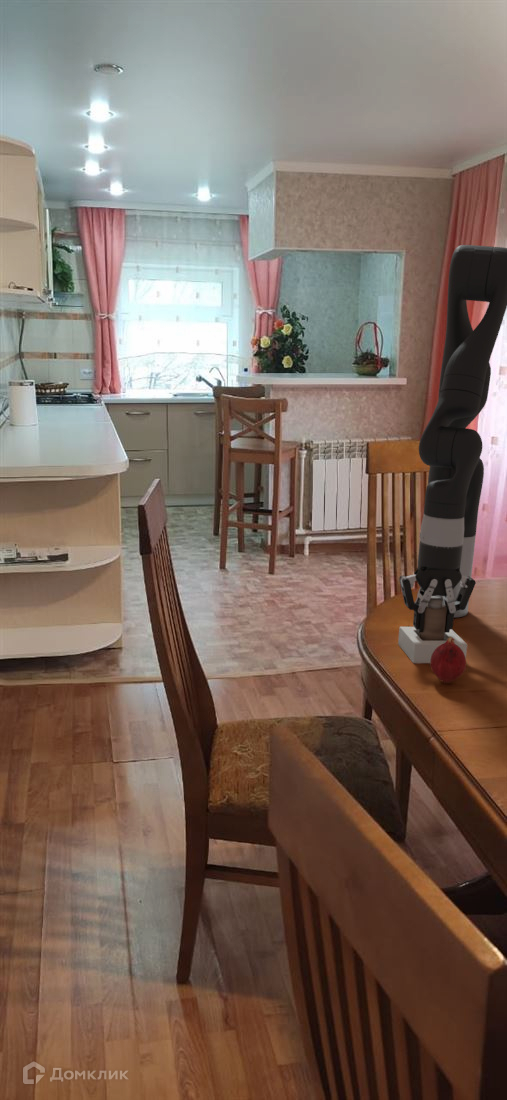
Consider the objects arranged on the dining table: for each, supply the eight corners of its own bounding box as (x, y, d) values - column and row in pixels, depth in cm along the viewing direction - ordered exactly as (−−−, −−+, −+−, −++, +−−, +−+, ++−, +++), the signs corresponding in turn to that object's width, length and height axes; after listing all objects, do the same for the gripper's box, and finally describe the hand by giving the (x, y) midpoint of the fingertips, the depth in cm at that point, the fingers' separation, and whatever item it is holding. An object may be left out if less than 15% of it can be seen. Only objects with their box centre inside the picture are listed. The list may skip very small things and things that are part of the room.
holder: (398, 644, 158) (399, 626, 157) (447, 644, 160) (448, 626, 159) (413, 663, 149) (415, 644, 148) (465, 662, 150) (467, 644, 149)
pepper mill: (420, 644, 157) (425, 593, 155) (444, 648, 156) (449, 597, 153) (416, 652, 153) (420, 599, 151) (440, 656, 152) (445, 603, 149)
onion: (464, 691, 137) (469, 645, 136) (428, 687, 139) (433, 642, 137) (463, 678, 143) (467, 634, 141) (428, 674, 144) (432, 630, 142)
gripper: (408, 544, 145) (400, 638, 149) (487, 545, 146) (477, 638, 151) (396, 534, 152) (388, 624, 156) (472, 535, 154) (462, 624, 158)
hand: (432, 630), depth 153 cm, fingers closed on pepper mill, 4 cm apart
